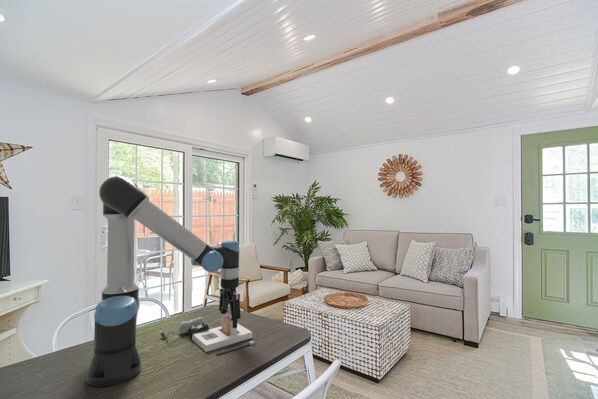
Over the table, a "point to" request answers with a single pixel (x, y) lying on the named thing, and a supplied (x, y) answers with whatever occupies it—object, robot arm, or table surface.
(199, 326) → the clip-on lamp
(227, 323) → the block
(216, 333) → the outlet plate
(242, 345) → the cable
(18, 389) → the table surface
